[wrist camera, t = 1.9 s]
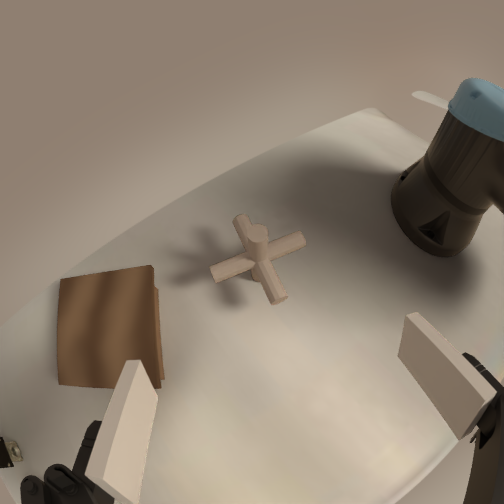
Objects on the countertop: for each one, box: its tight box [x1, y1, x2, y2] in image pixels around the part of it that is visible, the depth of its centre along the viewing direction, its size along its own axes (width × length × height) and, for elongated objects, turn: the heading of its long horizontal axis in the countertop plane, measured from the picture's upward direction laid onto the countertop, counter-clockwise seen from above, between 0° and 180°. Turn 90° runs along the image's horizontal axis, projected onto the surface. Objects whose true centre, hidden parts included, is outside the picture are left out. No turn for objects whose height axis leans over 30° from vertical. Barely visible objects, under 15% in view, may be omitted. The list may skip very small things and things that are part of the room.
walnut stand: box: [57, 265, 165, 389], centre depth 28 cm, size 13×13×5 cm
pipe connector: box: [209, 214, 306, 305], centre depth 28 cm, size 10×10×10 cm
